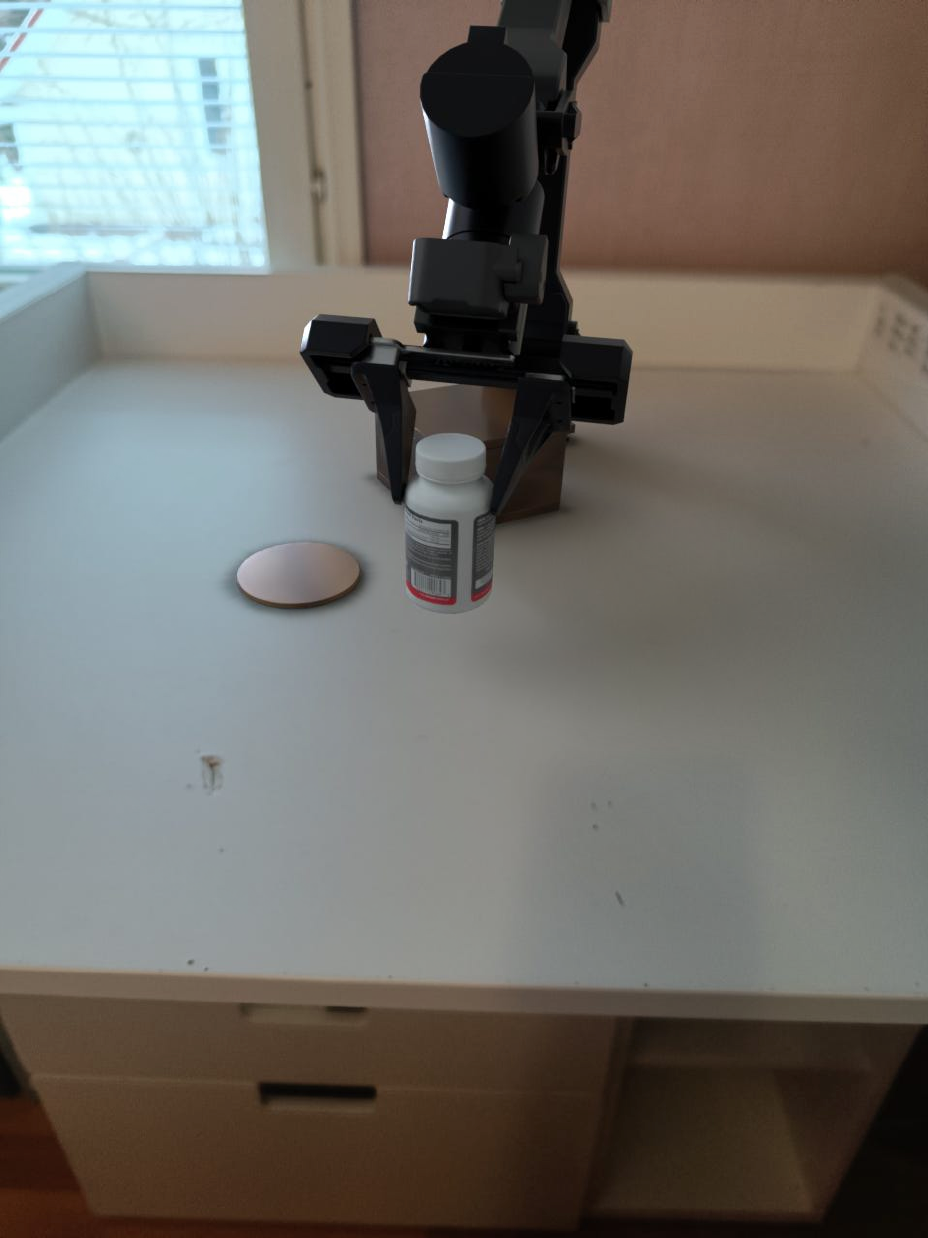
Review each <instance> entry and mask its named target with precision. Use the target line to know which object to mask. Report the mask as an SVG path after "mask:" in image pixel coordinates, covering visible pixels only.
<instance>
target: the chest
mask: <svg viewBox="0 0 928 1238" xmlns="http://www.w3.org/2000/svg"><path fill="white" fill-rule="evenodd" d="M374 423H375V424H374V427H375V459H376V479H377V480H379V482H381V483H382V484H383V485H384V486H385V487H386V488H387V489H388V490H389V491H390V492H391V488H390V481H389V475H388V468H387V461H386V454H385V447H384V440H383V434H382V428H381V424H380V420H379V417H378V414H377V413H374ZM567 435H568V434H567ZM567 435H561V436H556V437H550V438H549V439H548V440H547V442H546V443H545V444H544V445H543V447H542V448H541V449H540V451H539V452H538V453H537V454H536V456H535V457H534V458H533V459H532V461H531V462H530V463H529V465H528V467H527V468H526V470H525V472H524V473H523V475H522V477H521V478H520V480H519V482H518V483H517V485H516V487H515V488H514V490H513V492H512V494H511V495H510V497H509V499H508V500H507V502H506V504H505V506H504V507H503V509H502V511H501V512H500V514H499V515H498V516H496V518H495V525H500V524H503V523H507V522H512V521H515V520H520V519H525V518H528V517H533V516H537V515H542V514H546V513H551V512H554V511H555V512H556V511H558V510H560V509H561V508H560V507H561V500H562V499H561V498H562V489H563V478H564V469H565V468H564V466H565V457H566V448H567V442H566V438H567ZM419 441H420V440H418V439H417V438H416V437H415V436H414V437H413V445H412V453H411V461H410V469H409V477H408V482H409V481H410V480H411V479H412V478H413V477H414V476H415V475H417V474H418V473H417V471H416V464H415V463H416V445H417V443H418V442H419ZM503 447H504V446H502V447H497V448H492V449H486V463H487V466H486V469H485V473H484V475H485V476H486V477H488V478H489V479H490V480H491V482H492V483H493V485H494V481H495V477H496V473H497V469H498V466H499V462H500V458H501V455H502V451H503ZM402 504H404V499H403V502H402Z"/></svg>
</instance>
